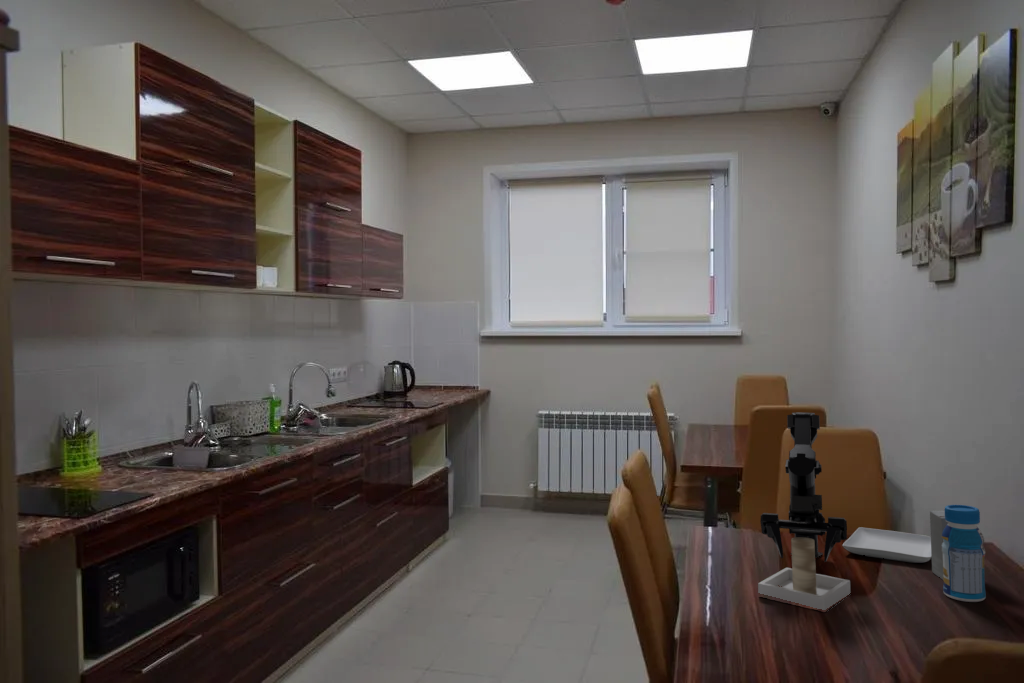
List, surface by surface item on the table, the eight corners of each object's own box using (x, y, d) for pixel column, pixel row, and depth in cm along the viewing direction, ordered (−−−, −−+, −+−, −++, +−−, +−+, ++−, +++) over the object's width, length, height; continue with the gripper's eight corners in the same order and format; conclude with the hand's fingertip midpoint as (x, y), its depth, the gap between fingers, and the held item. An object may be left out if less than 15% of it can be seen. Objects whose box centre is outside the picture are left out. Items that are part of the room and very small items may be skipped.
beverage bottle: (965, 605, 159) (963, 513, 159) (933, 592, 167) (931, 505, 167) (996, 600, 162) (993, 510, 161) (963, 588, 170) (960, 502, 170)
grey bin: (786, 580, 178) (786, 567, 178) (850, 594, 168) (850, 580, 168) (758, 597, 168) (758, 583, 168) (824, 613, 157) (824, 598, 157)
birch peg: (806, 587, 171) (804, 536, 171) (821, 594, 166) (819, 541, 166) (788, 590, 169) (786, 538, 169) (803, 597, 165) (800, 543, 165)
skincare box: (965, 572, 180) (963, 508, 180) (981, 582, 173) (979, 515, 173) (929, 572, 181) (927, 508, 181) (943, 582, 174) (941, 515, 174)
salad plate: (931, 569, 184) (930, 556, 184) (841, 556, 197) (840, 544, 197) (942, 549, 201) (942, 536, 201) (859, 538, 214) (858, 526, 214)
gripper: (759, 479, 175) (757, 537, 165) (845, 483, 168) (848, 544, 158) (762, 504, 182) (761, 562, 172) (845, 509, 175) (848, 569, 165)
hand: (803, 559), depth 166 cm, fingers open, 9 cm apart
